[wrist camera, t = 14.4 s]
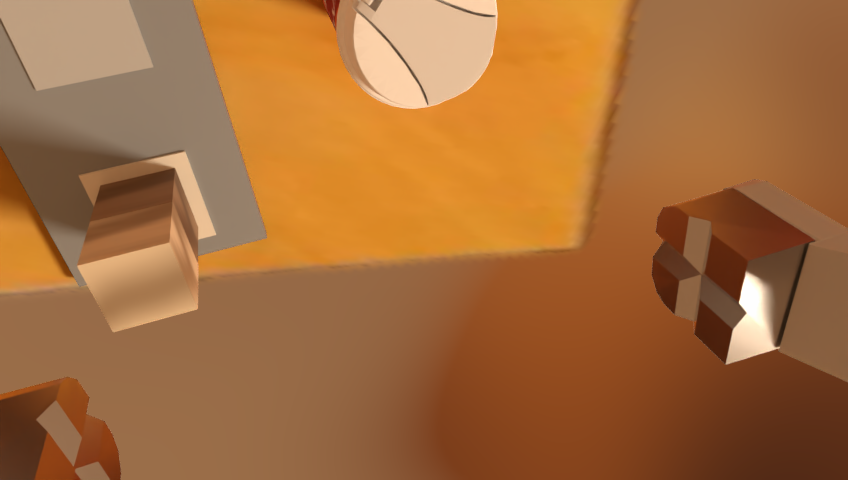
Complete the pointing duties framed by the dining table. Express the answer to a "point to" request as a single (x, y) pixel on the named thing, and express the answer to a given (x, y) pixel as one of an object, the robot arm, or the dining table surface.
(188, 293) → the maple block
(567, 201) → the dining table surface
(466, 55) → the coffee cup
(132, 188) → the walnut block
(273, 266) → the dining table surface
